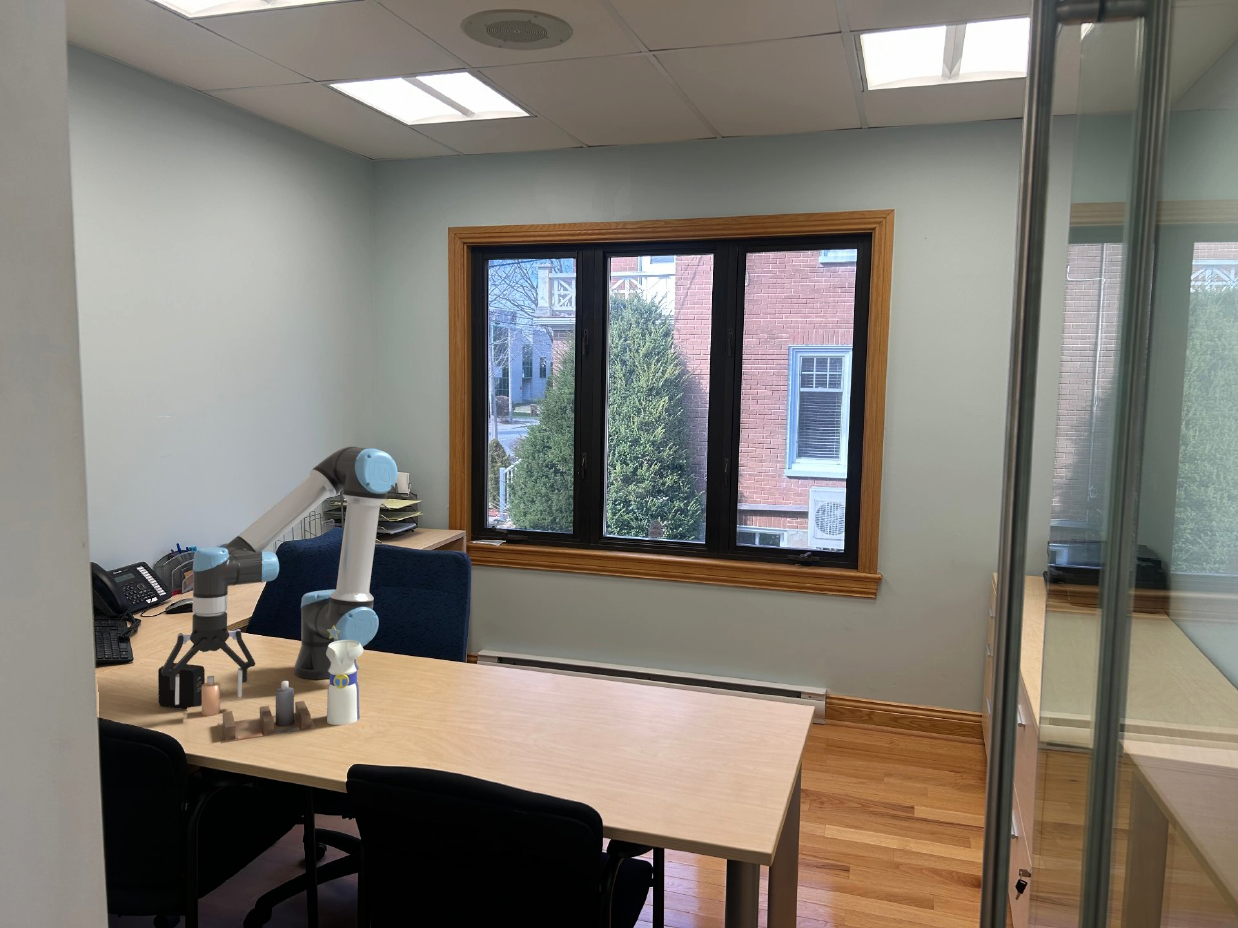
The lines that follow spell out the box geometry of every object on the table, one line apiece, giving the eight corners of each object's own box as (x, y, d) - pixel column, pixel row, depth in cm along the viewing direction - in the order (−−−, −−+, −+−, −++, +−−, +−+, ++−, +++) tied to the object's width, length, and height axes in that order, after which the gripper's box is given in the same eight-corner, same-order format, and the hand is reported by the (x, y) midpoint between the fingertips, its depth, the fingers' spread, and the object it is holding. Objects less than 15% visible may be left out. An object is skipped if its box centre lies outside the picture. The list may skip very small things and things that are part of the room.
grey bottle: (292, 718, 199) (292, 678, 199) (295, 724, 196) (295, 683, 195) (274, 721, 197) (274, 680, 197) (276, 727, 194) (276, 685, 193)
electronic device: (193, 710, 205) (193, 671, 204) (158, 706, 207) (157, 667, 206) (205, 704, 209) (204, 665, 209) (170, 700, 211) (170, 662, 210)
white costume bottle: (360, 728, 197) (360, 625, 195) (322, 730, 196) (322, 626, 194) (364, 715, 205) (365, 616, 203) (328, 716, 204) (329, 616, 202)
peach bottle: (219, 712, 204) (219, 672, 204) (220, 718, 201) (220, 678, 200) (201, 715, 202) (201, 675, 202) (202, 721, 199) (201, 680, 198)
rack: (307, 714, 205) (307, 698, 204) (315, 732, 194) (315, 715, 194) (217, 727, 195) (217, 711, 195) (221, 747, 185) (221, 729, 184)
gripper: (264, 605, 209) (262, 687, 210) (150, 612, 197) (149, 700, 198) (267, 611, 202) (266, 697, 204) (150, 620, 190) (149, 711, 192)
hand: (208, 699), depth 201 cm, fingers open, 13 cm apart
